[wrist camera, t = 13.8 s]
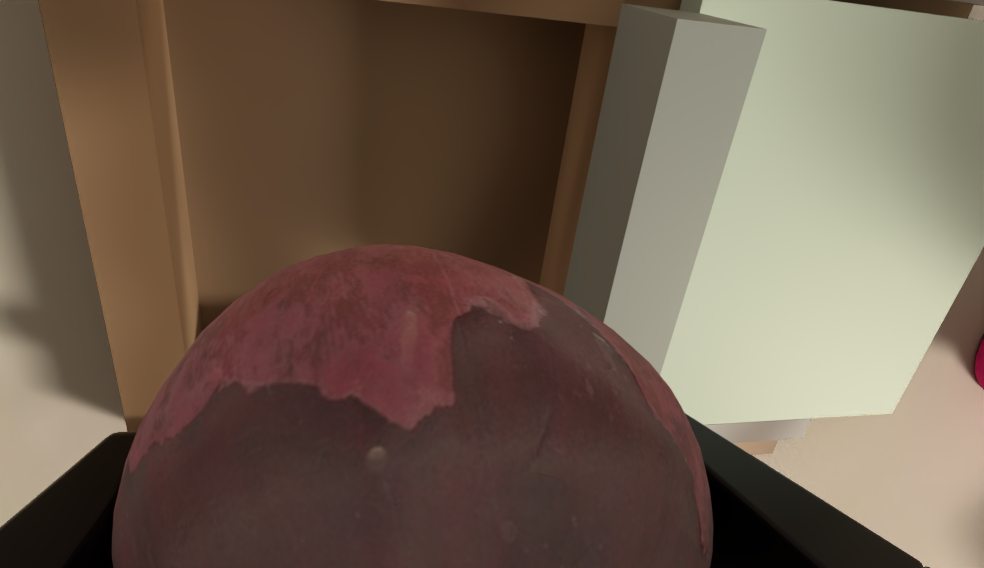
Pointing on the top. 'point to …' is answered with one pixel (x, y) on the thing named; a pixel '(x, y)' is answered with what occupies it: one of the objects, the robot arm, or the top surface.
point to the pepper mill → (980, 365)
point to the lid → (783, 200)
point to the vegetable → (411, 431)
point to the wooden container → (328, 147)
